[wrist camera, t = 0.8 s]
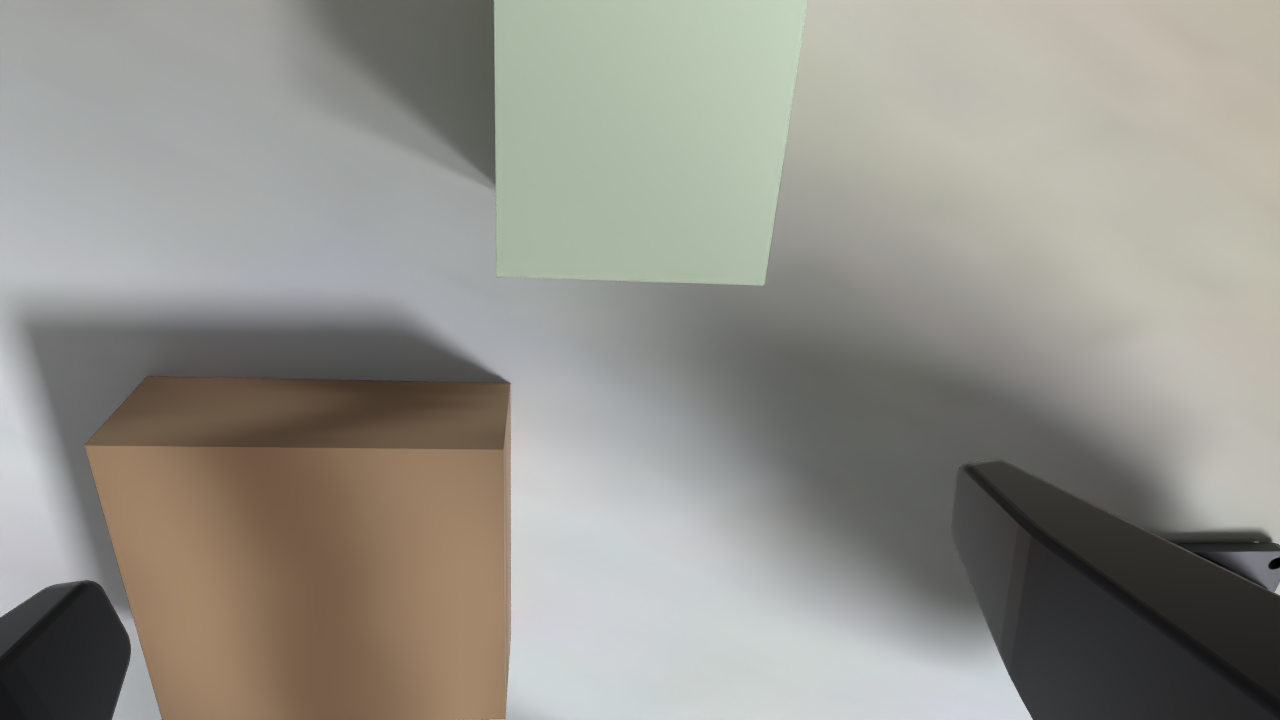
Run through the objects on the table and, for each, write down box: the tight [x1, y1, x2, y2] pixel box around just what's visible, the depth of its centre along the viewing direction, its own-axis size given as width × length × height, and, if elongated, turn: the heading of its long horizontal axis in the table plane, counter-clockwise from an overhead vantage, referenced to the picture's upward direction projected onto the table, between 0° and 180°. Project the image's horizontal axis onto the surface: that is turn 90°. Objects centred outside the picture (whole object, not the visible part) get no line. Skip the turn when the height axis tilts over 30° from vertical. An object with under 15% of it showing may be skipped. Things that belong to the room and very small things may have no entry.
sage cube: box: [494, 0, 808, 286], centre depth 16 cm, size 5×5×5 cm
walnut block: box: [84, 376, 511, 720], centre depth 22 cm, size 9×9×4 cm
